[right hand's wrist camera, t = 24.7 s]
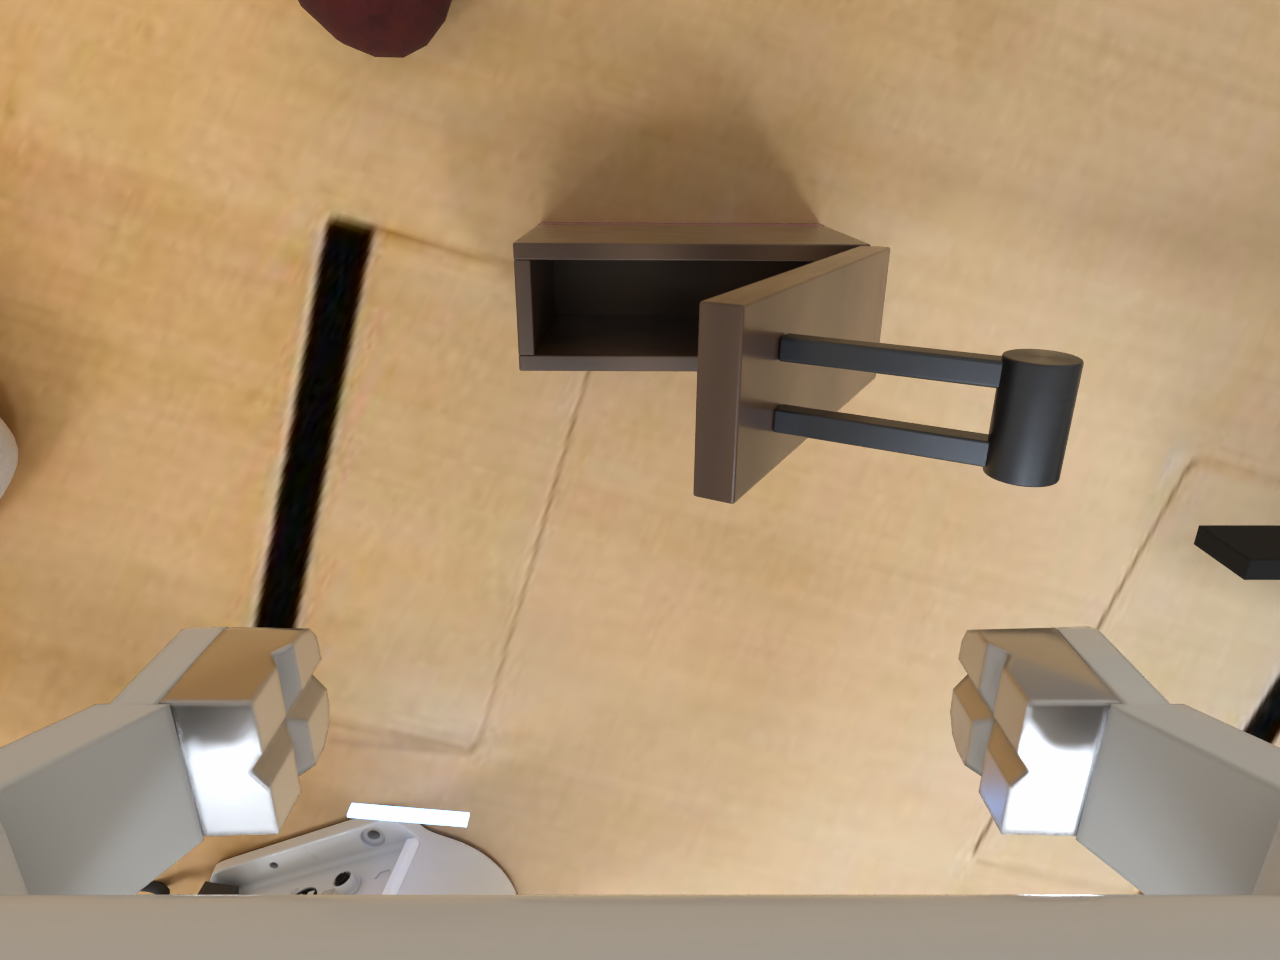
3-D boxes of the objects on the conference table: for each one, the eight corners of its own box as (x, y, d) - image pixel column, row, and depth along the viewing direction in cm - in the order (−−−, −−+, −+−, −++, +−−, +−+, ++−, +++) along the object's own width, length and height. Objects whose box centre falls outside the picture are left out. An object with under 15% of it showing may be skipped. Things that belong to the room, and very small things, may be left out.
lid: (692, 496, 23) (1040, 570, 19) (698, 300, 21) (1088, 338, 17) (847, 374, 35) (1075, 403, 31) (860, 245, 33) (1105, 258, 29)
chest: (544, 325, 45) (519, 371, 36) (540, 222, 43) (512, 242, 34) (811, 326, 45) (857, 372, 36) (820, 223, 43) (871, 244, 34)
